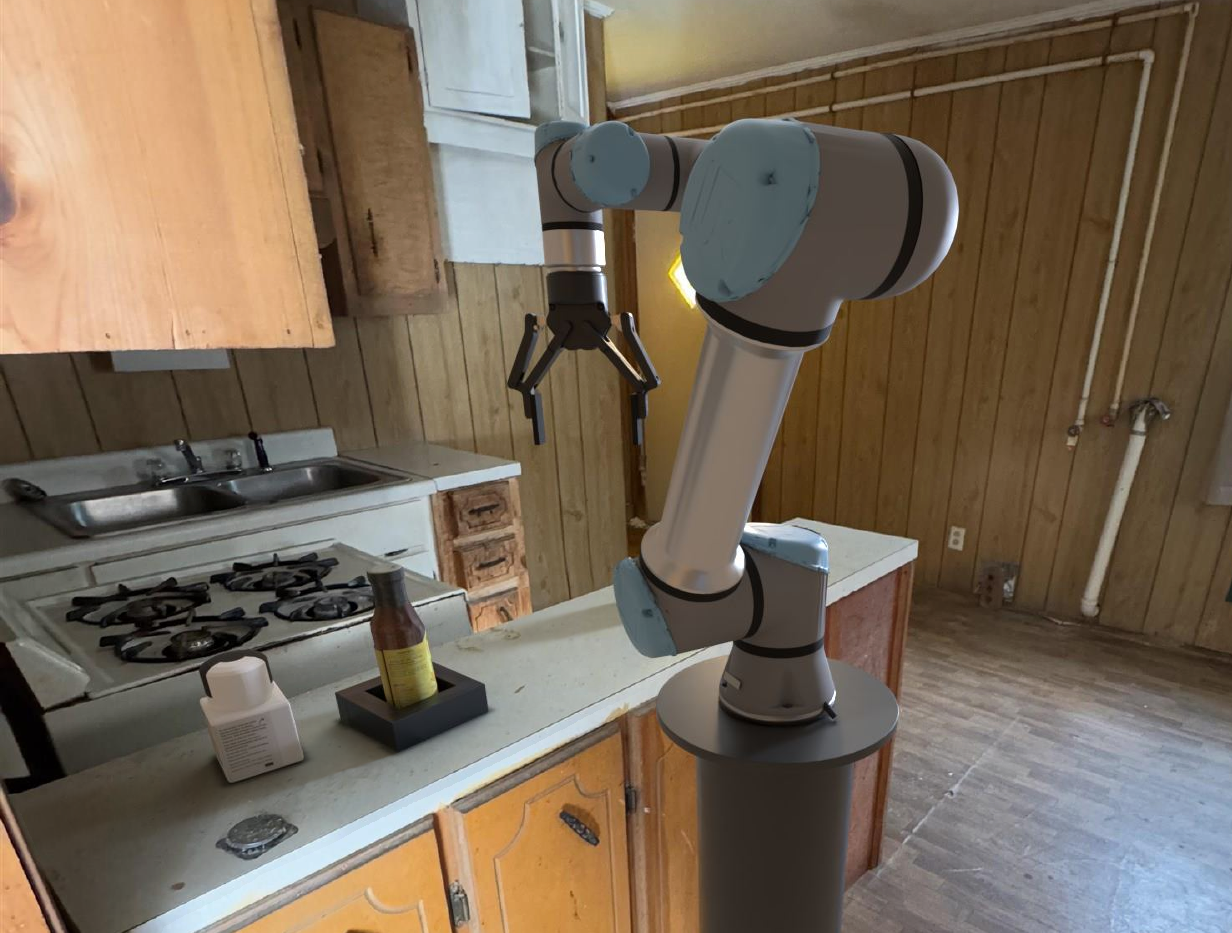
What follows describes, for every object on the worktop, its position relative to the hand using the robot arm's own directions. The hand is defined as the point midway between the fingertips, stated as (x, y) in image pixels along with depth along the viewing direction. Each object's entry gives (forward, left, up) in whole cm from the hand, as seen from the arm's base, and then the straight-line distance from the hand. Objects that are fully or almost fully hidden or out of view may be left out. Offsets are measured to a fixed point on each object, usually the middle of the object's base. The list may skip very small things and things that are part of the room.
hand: (588, 444), depth 107 cm
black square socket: (+4, +29, -31) cm, 43 cm away
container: (+9, +46, -31) cm, 57 cm away
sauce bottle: (+4, +29, -31) cm, 43 cm away
